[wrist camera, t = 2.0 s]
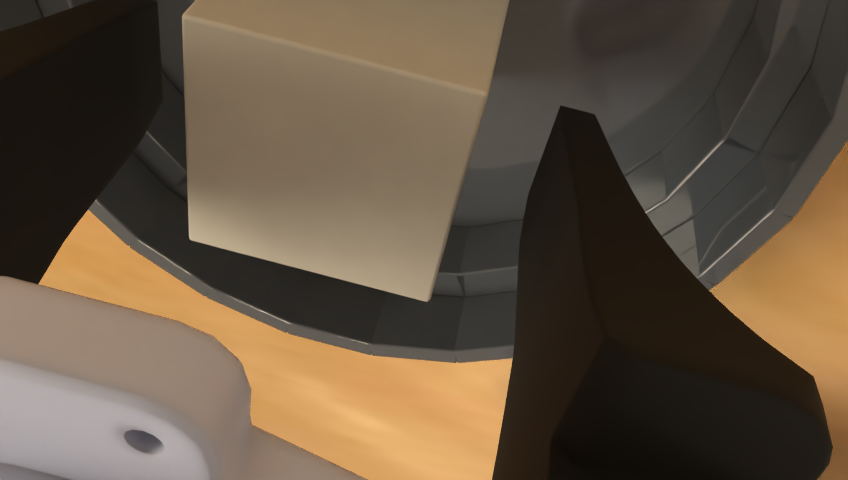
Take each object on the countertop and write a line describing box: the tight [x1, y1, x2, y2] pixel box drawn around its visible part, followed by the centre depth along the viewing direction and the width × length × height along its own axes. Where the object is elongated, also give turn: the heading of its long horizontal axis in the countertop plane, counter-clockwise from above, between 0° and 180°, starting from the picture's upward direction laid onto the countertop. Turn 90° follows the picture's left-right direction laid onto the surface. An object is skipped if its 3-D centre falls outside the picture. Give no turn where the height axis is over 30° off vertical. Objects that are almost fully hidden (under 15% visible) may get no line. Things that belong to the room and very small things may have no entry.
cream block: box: [182, 0, 509, 302], centre depth 15 cm, size 4×4×8 cm
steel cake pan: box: [0, 0, 848, 363], centre depth 17 cm, size 18×18×4 cm
